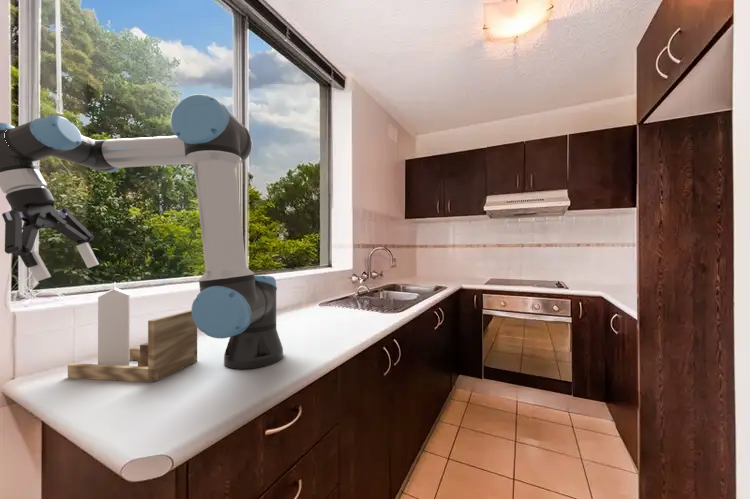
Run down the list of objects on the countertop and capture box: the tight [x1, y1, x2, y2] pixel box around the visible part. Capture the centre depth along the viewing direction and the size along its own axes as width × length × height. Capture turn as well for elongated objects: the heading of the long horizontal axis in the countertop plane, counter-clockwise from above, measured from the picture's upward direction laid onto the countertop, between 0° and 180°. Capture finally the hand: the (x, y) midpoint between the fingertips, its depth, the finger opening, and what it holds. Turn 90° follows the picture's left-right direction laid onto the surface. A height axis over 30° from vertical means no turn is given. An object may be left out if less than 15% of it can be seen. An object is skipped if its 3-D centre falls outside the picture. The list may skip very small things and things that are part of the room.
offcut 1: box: [139, 342, 148, 356], centre depth 78 cm, size 5×6×2 cm
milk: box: [97, 281, 131, 366], centre depth 80 cm, size 6×6×22 cm
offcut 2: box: [137, 355, 148, 367], centre depth 78 cm, size 5×7×2 cm
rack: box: [67, 309, 198, 383], centre depth 79 cm, size 23×14×14 cm, turn 82°
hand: (71, 272), depth 78 cm, fingers open, 13 cm apart
